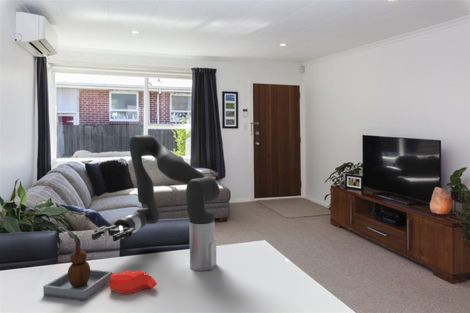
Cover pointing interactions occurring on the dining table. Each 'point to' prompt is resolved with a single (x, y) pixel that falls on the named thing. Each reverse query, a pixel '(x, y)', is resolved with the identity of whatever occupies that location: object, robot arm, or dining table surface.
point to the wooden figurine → (78, 268)
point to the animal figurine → (131, 282)
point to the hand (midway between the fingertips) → (103, 237)
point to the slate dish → (67, 291)
